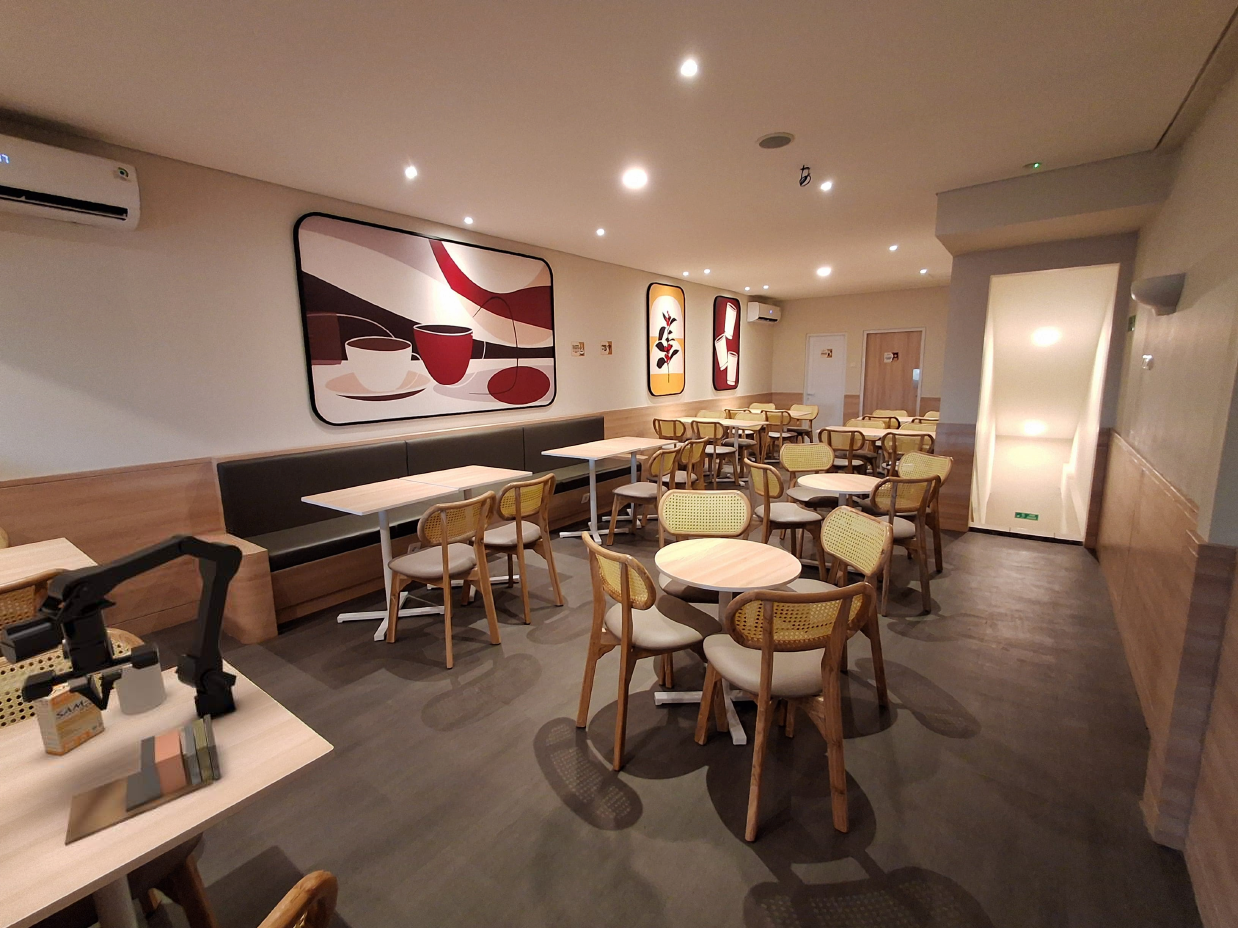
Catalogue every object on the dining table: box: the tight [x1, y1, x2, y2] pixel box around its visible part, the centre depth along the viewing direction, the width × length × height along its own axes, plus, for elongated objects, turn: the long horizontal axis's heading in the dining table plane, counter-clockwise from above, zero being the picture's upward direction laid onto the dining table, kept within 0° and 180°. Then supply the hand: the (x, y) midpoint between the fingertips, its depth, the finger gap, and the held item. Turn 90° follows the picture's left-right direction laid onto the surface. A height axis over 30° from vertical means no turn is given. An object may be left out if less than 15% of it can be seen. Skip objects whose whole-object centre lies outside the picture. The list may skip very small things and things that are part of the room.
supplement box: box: [32, 682, 106, 756], centre depth 115 cm, size 8×5×13 cm, turn 168°
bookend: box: [126, 735, 162, 812], centre depth 102 cm, size 5×10×7 cm, turn 40°
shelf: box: [64, 714, 222, 846], centre depth 102 cm, size 22×13×8 cm, turn 130°
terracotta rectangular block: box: [155, 728, 187, 796], centre depth 104 cm, size 4×9×7 cm, turn 41°
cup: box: [114, 651, 167, 716], centre depth 127 cm, size 8×8×12 cm
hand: (104, 709), depth 106 cm, fingers closed
